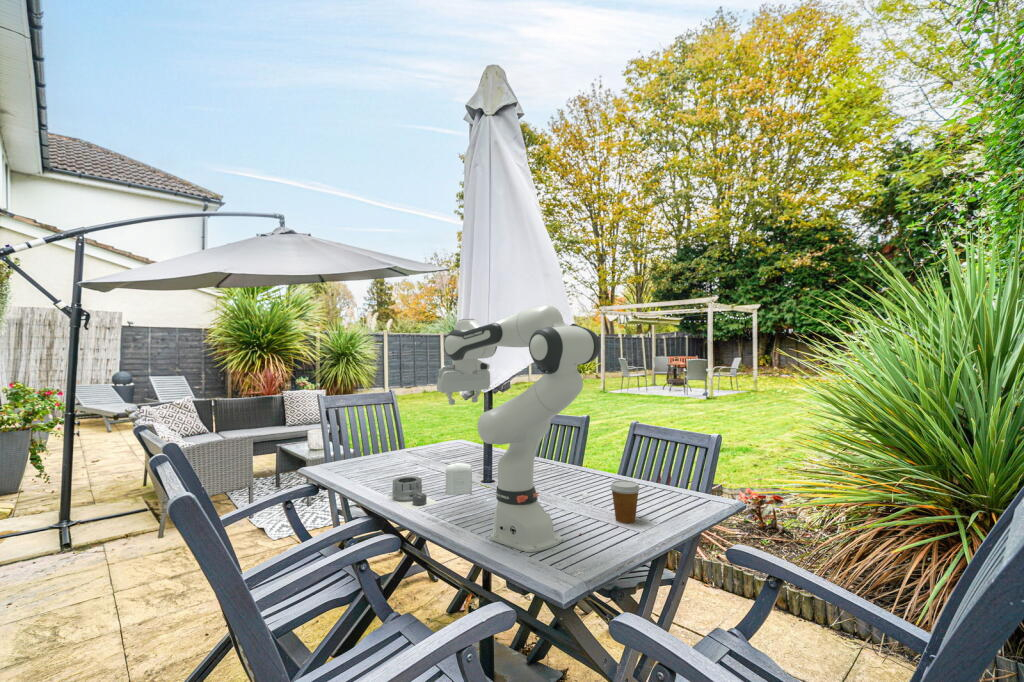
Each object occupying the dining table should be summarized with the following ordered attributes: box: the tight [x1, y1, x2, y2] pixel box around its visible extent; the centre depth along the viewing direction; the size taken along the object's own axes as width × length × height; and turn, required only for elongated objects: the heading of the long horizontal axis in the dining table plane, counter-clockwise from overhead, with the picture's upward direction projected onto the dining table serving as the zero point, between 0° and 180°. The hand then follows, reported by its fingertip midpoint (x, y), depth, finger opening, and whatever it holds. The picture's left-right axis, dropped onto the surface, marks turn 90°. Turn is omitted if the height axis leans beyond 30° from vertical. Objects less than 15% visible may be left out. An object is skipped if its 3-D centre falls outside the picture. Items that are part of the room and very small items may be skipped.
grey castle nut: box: [391, 475, 423, 502], centre depth 184 cm, size 11×11×6 cm
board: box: [386, 495, 439, 511], centre depth 181 cm, size 19×12×1 cm, turn 38°
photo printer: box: [445, 462, 473, 496], centre depth 190 cm, size 10×4×12 cm, turn 98°
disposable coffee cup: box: [609, 479, 641, 524], centre depth 160 cm, size 10×10×12 cm
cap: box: [413, 493, 428, 506], centre depth 176 cm, size 5×5×4 cm
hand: (463, 403), depth 172 cm, fingers open, 8 cm apart
